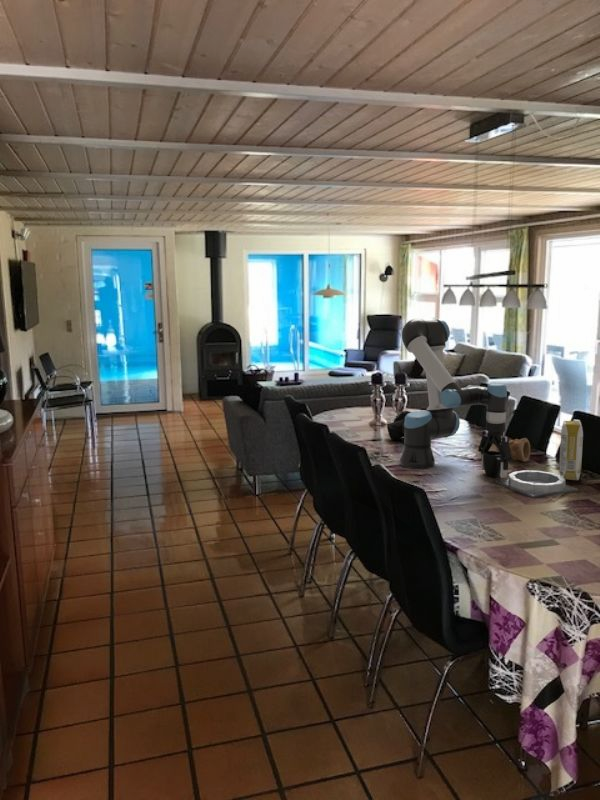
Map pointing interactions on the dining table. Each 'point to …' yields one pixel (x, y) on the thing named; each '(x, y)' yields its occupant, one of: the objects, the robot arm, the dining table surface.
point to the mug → (492, 463)
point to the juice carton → (571, 449)
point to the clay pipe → (519, 449)
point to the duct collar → (537, 483)
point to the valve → (397, 426)
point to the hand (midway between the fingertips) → (494, 473)
